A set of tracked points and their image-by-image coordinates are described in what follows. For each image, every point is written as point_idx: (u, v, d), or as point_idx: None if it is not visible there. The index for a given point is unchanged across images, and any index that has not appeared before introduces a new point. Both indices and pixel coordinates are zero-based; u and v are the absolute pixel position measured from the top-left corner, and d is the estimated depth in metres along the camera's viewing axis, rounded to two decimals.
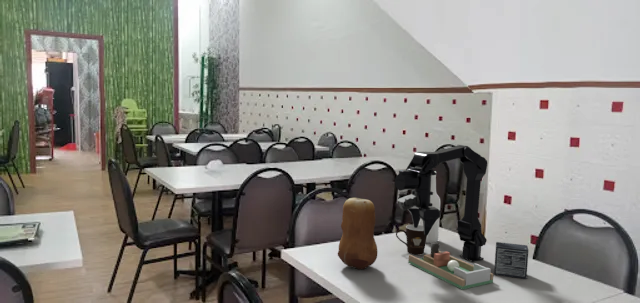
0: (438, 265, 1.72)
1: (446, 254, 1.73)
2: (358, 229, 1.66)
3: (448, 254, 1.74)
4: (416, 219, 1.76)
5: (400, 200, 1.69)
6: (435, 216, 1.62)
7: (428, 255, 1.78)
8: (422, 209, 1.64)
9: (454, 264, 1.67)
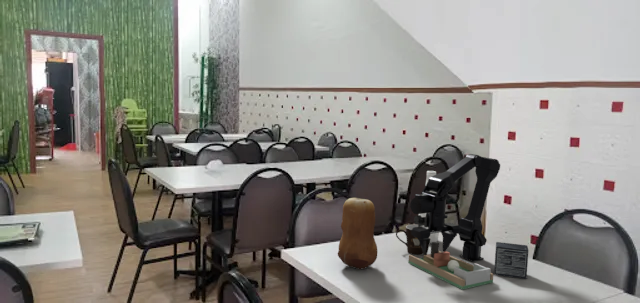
0: (438, 265, 1.72)
1: (446, 254, 1.73)
2: (358, 229, 1.66)
3: (448, 254, 1.74)
4: (444, 243, 1.78)
5: None
6: (417, 236, 1.70)
7: (428, 255, 1.78)
8: None
9: (454, 264, 1.67)
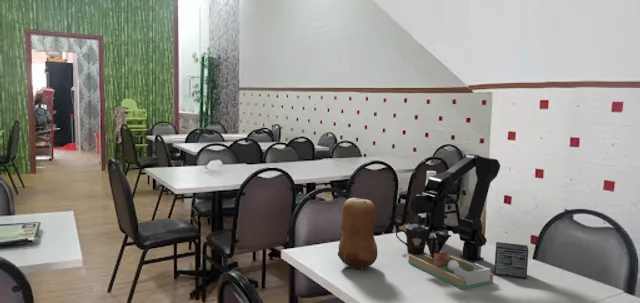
0: (438, 265, 1.72)
1: (446, 254, 1.73)
2: (358, 229, 1.66)
3: (448, 254, 1.74)
4: None
5: None
6: (417, 236, 1.70)
7: (428, 255, 1.78)
8: None
9: (454, 264, 1.67)
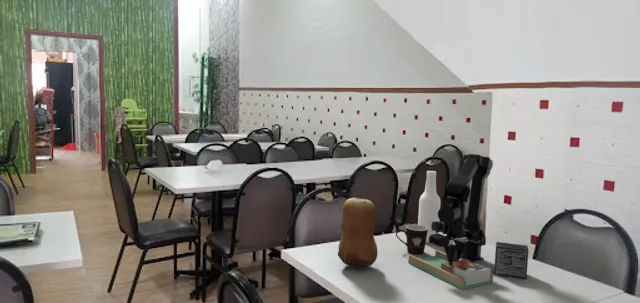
0: None
1: (465, 262, 1.65)
2: (358, 229, 1.66)
3: (467, 262, 1.66)
4: None
5: None
6: (436, 243, 1.62)
7: (446, 263, 1.70)
8: None
9: None
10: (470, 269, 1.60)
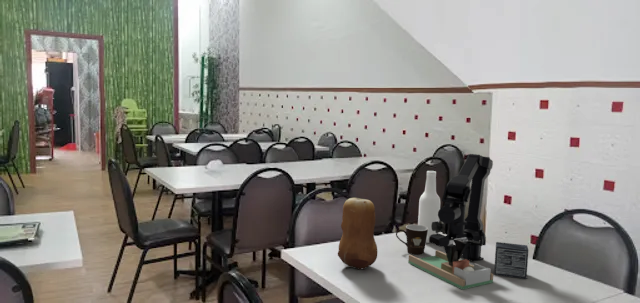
0: None
1: (465, 262, 1.65)
2: (358, 229, 1.66)
3: (467, 262, 1.66)
4: None
5: None
6: (436, 243, 1.62)
7: (446, 263, 1.70)
8: None
9: None
10: (466, 267, 1.62)
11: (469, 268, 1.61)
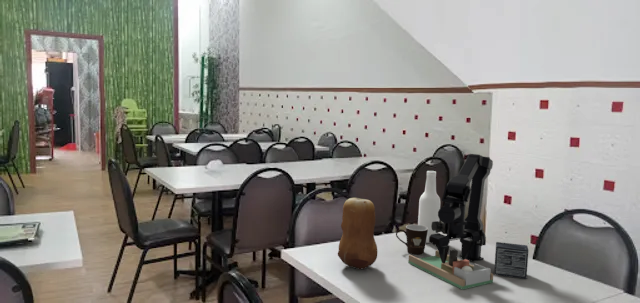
0: None
1: (465, 262, 1.65)
2: (358, 229, 1.66)
3: (467, 262, 1.66)
4: (464, 251, 1.70)
5: None
6: (436, 243, 1.62)
7: (446, 263, 1.70)
8: None
9: None
10: (462, 267, 1.63)
11: (465, 266, 1.63)
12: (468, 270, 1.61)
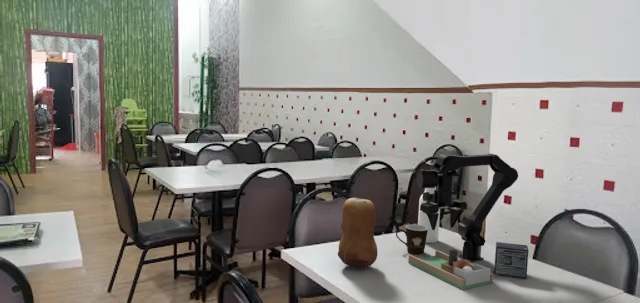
0: None
1: (465, 262, 1.65)
2: (358, 229, 1.66)
3: (467, 262, 1.66)
4: (452, 219, 1.84)
5: None
6: (426, 211, 1.76)
7: (446, 263, 1.70)
8: None
9: None
10: (463, 267, 1.63)
11: (466, 266, 1.62)
12: (469, 271, 1.61)
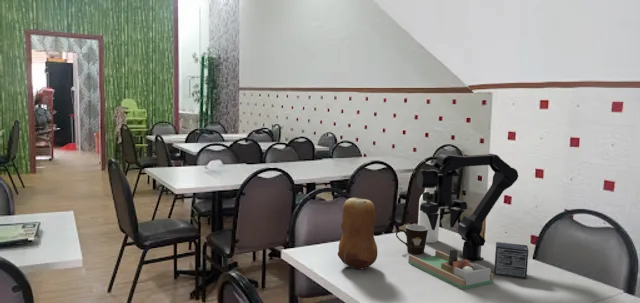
0: None
1: (465, 262, 1.65)
2: (358, 229, 1.66)
3: (467, 262, 1.66)
4: (452, 219, 1.84)
5: None
6: (426, 211, 1.76)
7: (446, 263, 1.70)
8: None
9: None
10: (464, 267, 1.63)
11: (467, 267, 1.62)
12: (469, 271, 1.61)
